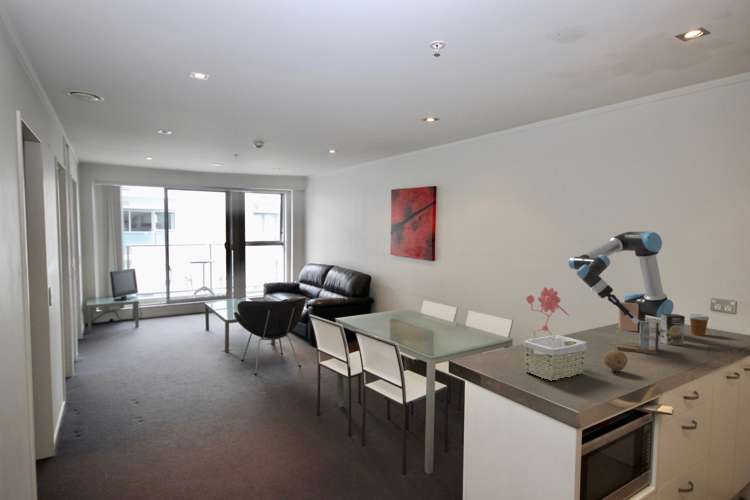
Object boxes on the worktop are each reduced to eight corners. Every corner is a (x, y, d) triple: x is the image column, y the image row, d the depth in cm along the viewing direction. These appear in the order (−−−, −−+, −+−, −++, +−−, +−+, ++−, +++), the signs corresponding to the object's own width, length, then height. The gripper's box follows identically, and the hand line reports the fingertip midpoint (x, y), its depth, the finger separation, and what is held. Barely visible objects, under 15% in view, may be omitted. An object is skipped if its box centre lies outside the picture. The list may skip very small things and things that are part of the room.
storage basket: (556, 364, 193) (556, 333, 193) (588, 374, 179) (589, 341, 178) (521, 372, 182) (521, 340, 181) (552, 384, 167) (553, 349, 167)
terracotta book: (618, 327, 222) (619, 302, 222) (635, 329, 219) (636, 303, 218) (620, 329, 218) (620, 303, 217) (637, 331, 214) (638, 304, 214)
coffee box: (666, 344, 226) (667, 315, 225) (659, 341, 233) (660, 313, 232) (684, 345, 225) (685, 316, 225) (676, 342, 232) (677, 313, 231)
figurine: (560, 366, 189) (562, 291, 188) (518, 352, 212) (519, 285, 211) (582, 362, 196) (584, 289, 195) (539, 348, 219) (540, 283, 218)
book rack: (614, 344, 227) (614, 314, 226) (652, 347, 220) (653, 317, 219) (617, 350, 216) (618, 319, 215) (657, 354, 209) (658, 322, 208)
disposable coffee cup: (685, 333, 250) (685, 314, 249) (694, 332, 254) (694, 313, 253) (702, 337, 241) (703, 317, 241) (711, 335, 245) (712, 315, 245)
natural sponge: (621, 376, 176) (621, 354, 176) (599, 371, 183) (600, 349, 183) (630, 372, 182) (630, 350, 181) (609, 367, 189) (609, 345, 188)
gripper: (594, 291, 232) (627, 322, 226) (598, 295, 215) (633, 329, 209) (605, 282, 230) (639, 313, 224) (610, 286, 213) (646, 320, 207)
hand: (636, 321), depth 217 cm, fingers closed on terracotta book, 5 cm apart
